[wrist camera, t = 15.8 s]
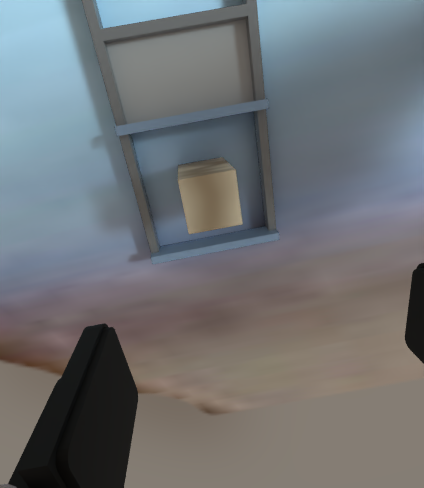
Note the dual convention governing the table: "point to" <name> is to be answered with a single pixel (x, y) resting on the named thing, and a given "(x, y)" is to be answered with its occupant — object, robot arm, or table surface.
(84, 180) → the table surface
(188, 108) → the grey flat frame
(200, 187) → the tan wooden block
